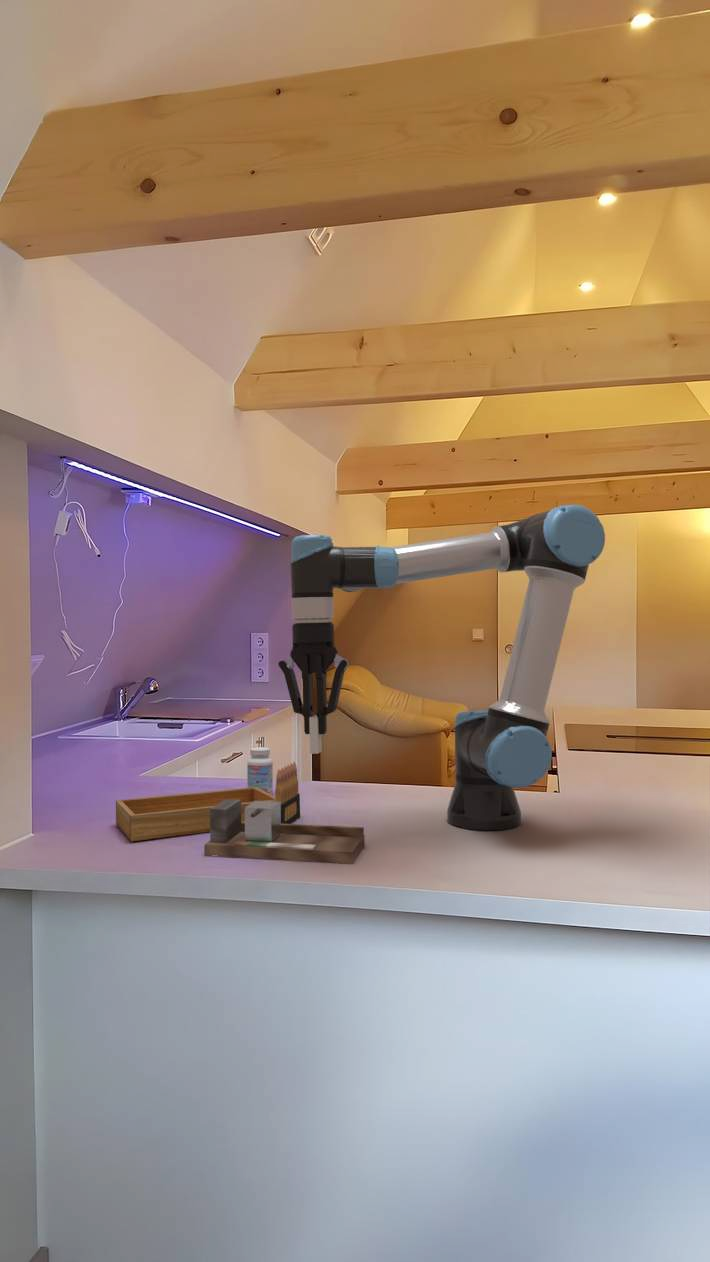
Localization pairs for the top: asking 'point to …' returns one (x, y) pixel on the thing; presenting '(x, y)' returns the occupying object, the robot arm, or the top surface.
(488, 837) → the top surface
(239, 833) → the brown tray with block
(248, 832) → the cube with dark rod
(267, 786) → the pill bottle
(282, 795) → the ammunition clip
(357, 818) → the top surface
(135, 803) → the tray
